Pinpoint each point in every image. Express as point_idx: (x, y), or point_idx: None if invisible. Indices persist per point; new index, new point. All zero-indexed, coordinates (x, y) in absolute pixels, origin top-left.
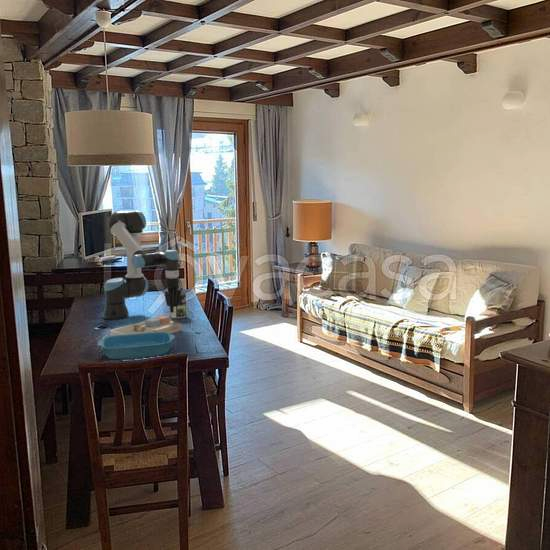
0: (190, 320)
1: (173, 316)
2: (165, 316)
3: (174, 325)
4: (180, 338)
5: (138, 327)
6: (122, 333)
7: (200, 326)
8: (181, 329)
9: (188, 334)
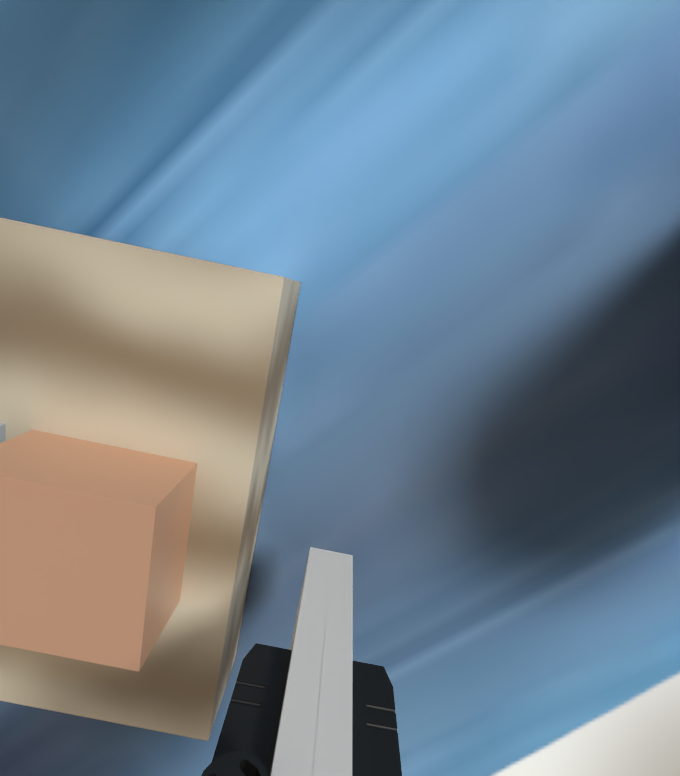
0: (653, 525)
1: (297, 613)
2: (123, 586)
3: (94, 715)
4: (22, 772)
5: None
6: None
7: (445, 733)
8: (231, 665)
9: (155, 769)
